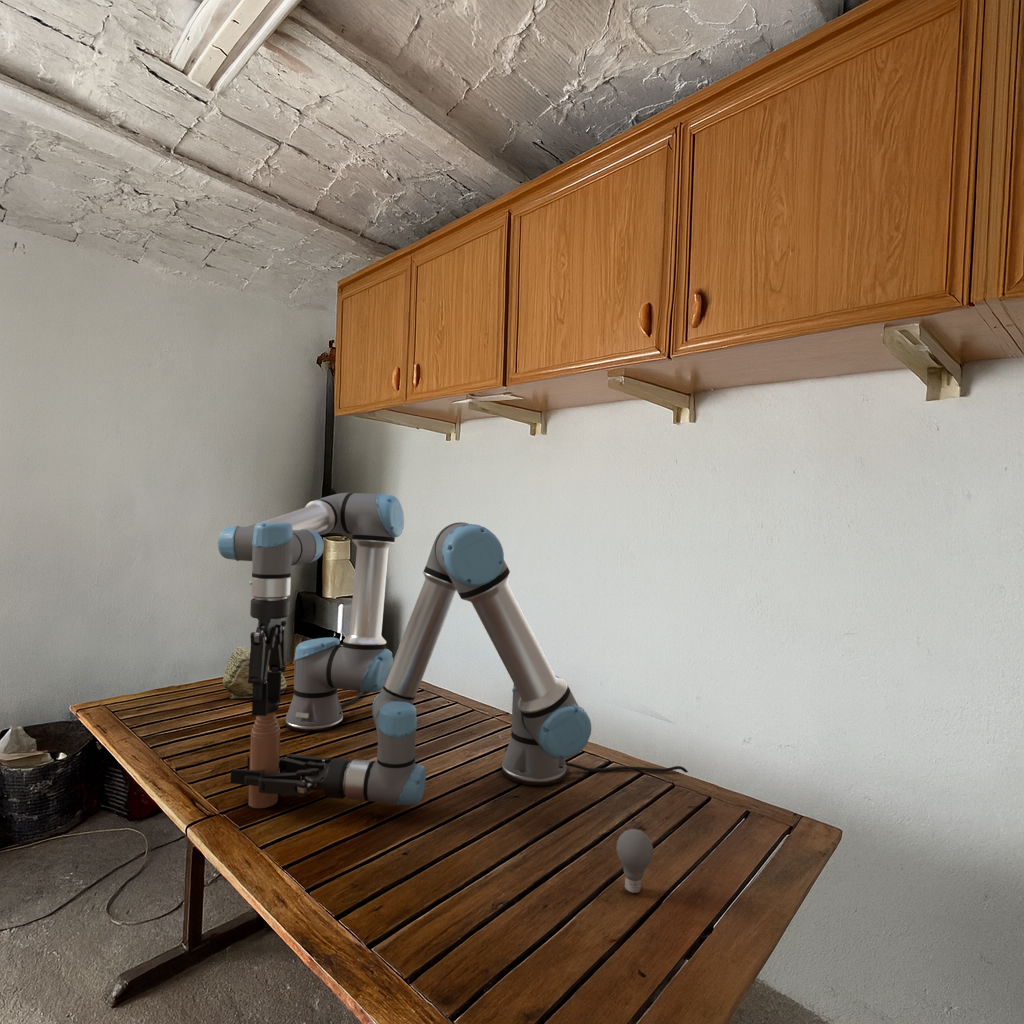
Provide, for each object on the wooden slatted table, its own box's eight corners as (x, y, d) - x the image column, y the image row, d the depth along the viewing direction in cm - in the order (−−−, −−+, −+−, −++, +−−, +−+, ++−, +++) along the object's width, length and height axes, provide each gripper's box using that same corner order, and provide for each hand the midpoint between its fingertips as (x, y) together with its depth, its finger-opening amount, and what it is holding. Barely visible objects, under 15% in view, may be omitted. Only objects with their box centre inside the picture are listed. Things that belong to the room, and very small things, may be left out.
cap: (277, 713, 129) (277, 704, 129) (252, 714, 127) (253, 705, 127) (279, 706, 133) (279, 697, 133) (255, 707, 132) (256, 698, 132)
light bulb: (610, 879, 108) (613, 822, 108) (644, 879, 109) (647, 822, 109) (619, 902, 102) (622, 840, 102) (655, 901, 103) (658, 840, 103)
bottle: (241, 804, 129) (245, 705, 129) (262, 792, 134) (266, 698, 134) (263, 810, 127) (267, 710, 126) (283, 798, 132) (287, 702, 132)
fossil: (218, 695, 195) (220, 647, 195) (278, 685, 208) (279, 640, 207) (228, 703, 189) (230, 653, 188) (289, 692, 201) (290, 645, 201)
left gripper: (270, 589, 140) (266, 693, 140) (231, 604, 120) (227, 725, 120) (304, 591, 140) (300, 694, 140) (271, 606, 120) (266, 726, 120)
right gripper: (330, 820, 119) (213, 809, 122) (363, 777, 138) (261, 768, 140) (331, 780, 119) (215, 770, 122) (364, 743, 138) (263, 734, 140)
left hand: (266, 708), depth 130 cm, fingers open, 7 cm apart
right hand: (240, 769), depth 131 cm, fingers closed on bottle, 6 cm apart
